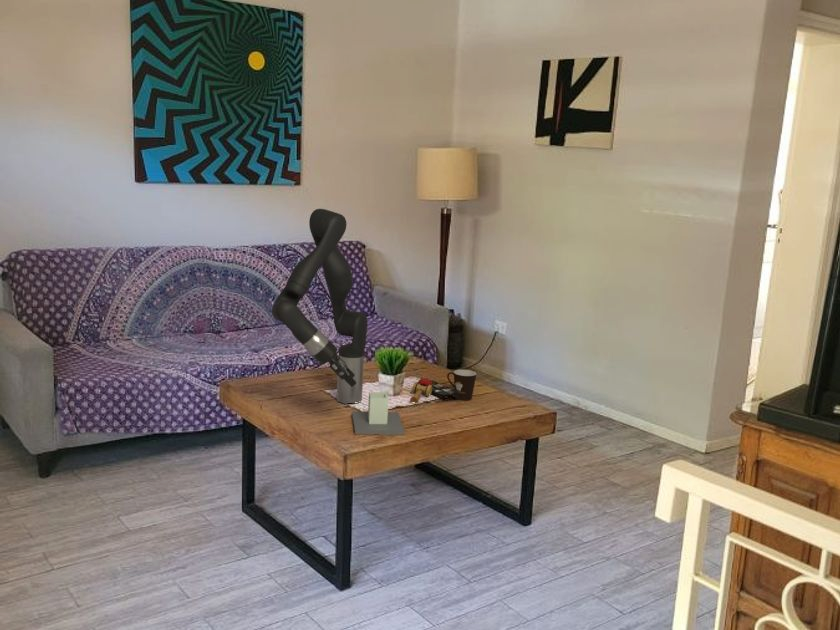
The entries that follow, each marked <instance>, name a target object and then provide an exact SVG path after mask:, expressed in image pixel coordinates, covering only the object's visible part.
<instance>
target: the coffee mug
mask: <svg viewBox="0 0 840 630" xmlns="http://www.w3.org/2000/svg"><path fill="white" fill-rule="evenodd" d="M450 375H452V376H453V382H452V381H451V379H450ZM446 378H447V380H448V382H449V383H450V385H451V386H452V387H453V388H454V399H455V398H456V400H458V401H461V402H464V401H465V402H468V401H471V400H472V398H473V392H474V390H475V384H476V378H477V372H476V371H474V370H470V369H455V370H454V371H452V372H451V371H450V372H447V375H446Z"/></svg>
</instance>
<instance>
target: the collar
mask: <svg viewBox="0 0 840 630" xmlns="http://www.w3.org/2000/svg"><path fill="white" fill-rule="evenodd" d="M367 405H368V407H367V409H368V410H367V412H368V421H369V424H387V417H388V412H389V396H388V392H372V391H371V392H368V404H367Z"/></svg>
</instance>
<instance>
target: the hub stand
mask: <svg viewBox="0 0 840 630" xmlns="http://www.w3.org/2000/svg"><path fill="white" fill-rule="evenodd" d="M351 418H352V423H353V430H354V435H355V434H380V435H379V436H381V435H382V436H387V435H388V436H405V428H404V425H403V423H402V422H403V421H402V420H401V419H402V418H401V417H400V413H399V411H397V412H395V411H394V412H389V411H388V417H387V424H369V421H368V411H352V412H351Z"/></svg>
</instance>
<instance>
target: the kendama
mask: <svg viewBox="0 0 840 630" xmlns="http://www.w3.org/2000/svg"><path fill="white" fill-rule="evenodd" d="M433 388H434V387H433V382H432V380H431V379H429V378H427V377H422V378H420V379H418V381H414V383H413V384H412V387H411V393H412V394H413V395H412V396H411V397H410V399H409V401H410V403H411V402H415V403H417V404H418V402H419V400H420V398H421V396H422V395H424V396H425V397H426V396H427V397H426V398H430V397H429V394H431V395H432V391H433Z"/></svg>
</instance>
